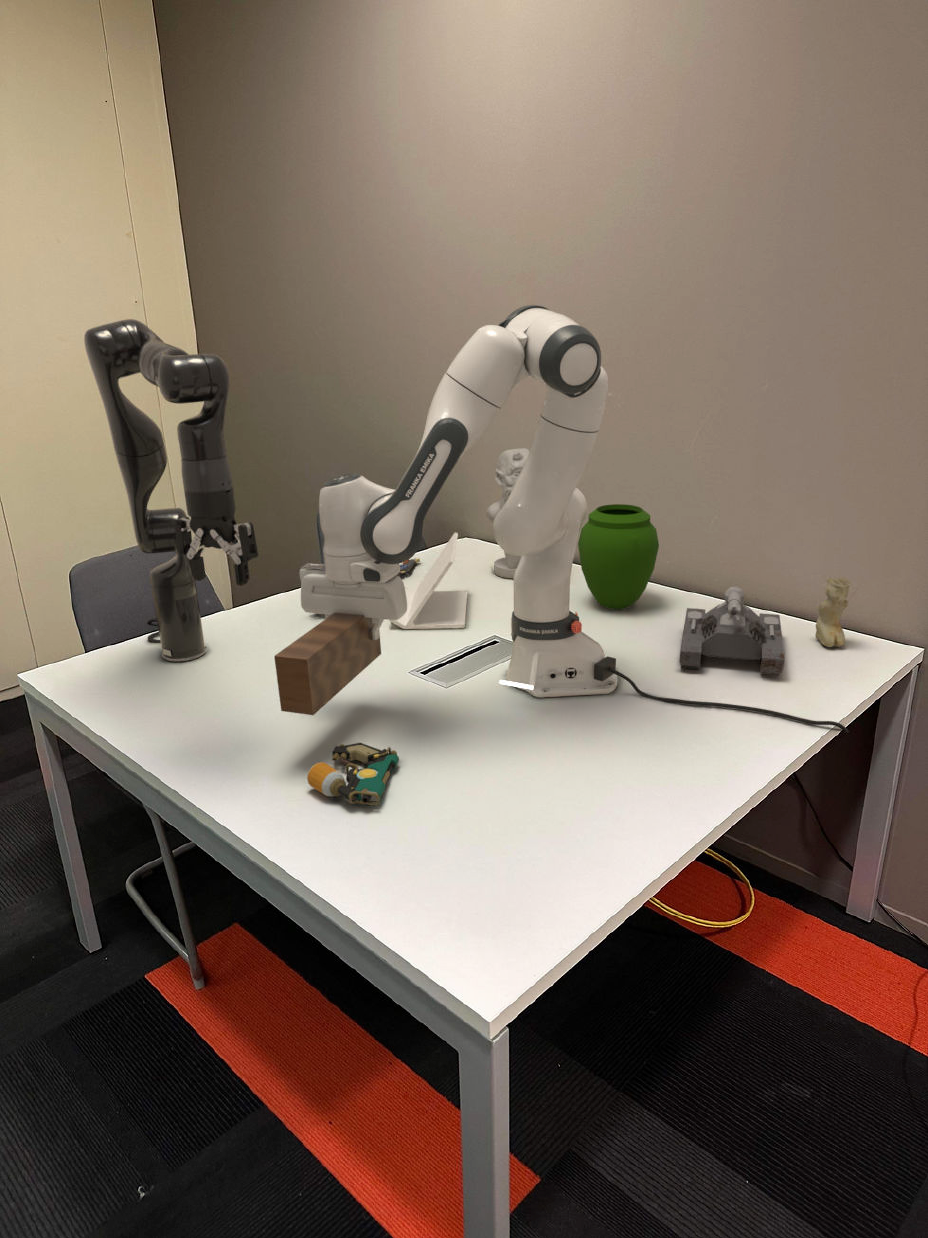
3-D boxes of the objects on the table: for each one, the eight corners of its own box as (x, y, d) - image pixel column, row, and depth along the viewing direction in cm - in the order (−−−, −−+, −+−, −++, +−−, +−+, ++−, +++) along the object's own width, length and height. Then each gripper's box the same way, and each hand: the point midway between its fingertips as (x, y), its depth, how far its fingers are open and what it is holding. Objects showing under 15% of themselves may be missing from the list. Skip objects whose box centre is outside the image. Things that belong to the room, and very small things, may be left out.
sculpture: (821, 649, 184) (830, 583, 179) (808, 637, 191) (816, 573, 185) (848, 649, 184) (858, 582, 179) (834, 636, 191) (843, 572, 185)
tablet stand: (467, 593, 225) (465, 531, 219) (465, 628, 202) (462, 559, 196) (399, 594, 226) (395, 532, 220) (388, 629, 203) (384, 560, 197)
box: (352, 650, 164) (348, 602, 161) (381, 653, 162) (377, 604, 159) (281, 711, 141) (274, 655, 137) (313, 715, 139) (306, 659, 135)
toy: (685, 628, 198) (689, 566, 193) (776, 635, 192) (783, 571, 187) (678, 672, 175) (683, 603, 170) (781, 681, 170) (789, 610, 164)
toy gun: (369, 573, 237) (404, 569, 234) (388, 558, 254) (420, 555, 252) (371, 582, 237) (405, 579, 235) (389, 566, 255) (421, 564, 253)
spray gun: (347, 751, 150) (423, 771, 144) (290, 794, 135) (372, 818, 129) (347, 729, 148) (423, 748, 142) (289, 770, 134) (372, 793, 128)
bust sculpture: (503, 593, 225) (502, 460, 212) (483, 567, 247) (480, 445, 234) (562, 587, 228) (563, 456, 215) (536, 562, 250) (536, 441, 237)
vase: (599, 587, 227) (601, 497, 218) (668, 600, 216) (673, 505, 208) (562, 608, 212) (564, 513, 204) (634, 623, 202) (639, 523, 193)
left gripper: (156, 487, 135) (171, 584, 141) (230, 492, 130) (243, 593, 136) (187, 478, 142) (200, 571, 147) (259, 482, 137) (270, 579, 142)
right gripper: (289, 567, 154) (298, 638, 159) (393, 574, 147) (399, 648, 152) (307, 557, 159) (314, 626, 164) (408, 563, 153) (412, 635, 158)
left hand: (221, 581), depth 142 cm, fingers open, 8 cm apart
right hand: (356, 637), depth 158 cm, fingers closed on box, 6 cm apart
